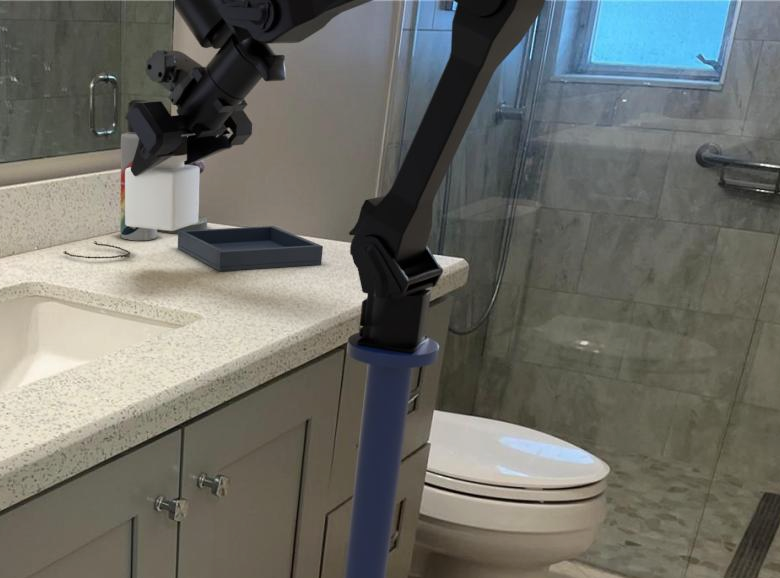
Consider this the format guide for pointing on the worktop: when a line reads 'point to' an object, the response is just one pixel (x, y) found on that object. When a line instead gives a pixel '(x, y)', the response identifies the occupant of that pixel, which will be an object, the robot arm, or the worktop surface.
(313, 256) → the vanity tray
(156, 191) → the medicine bottle
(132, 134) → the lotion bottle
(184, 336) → the worktop surface
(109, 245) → the accessory
